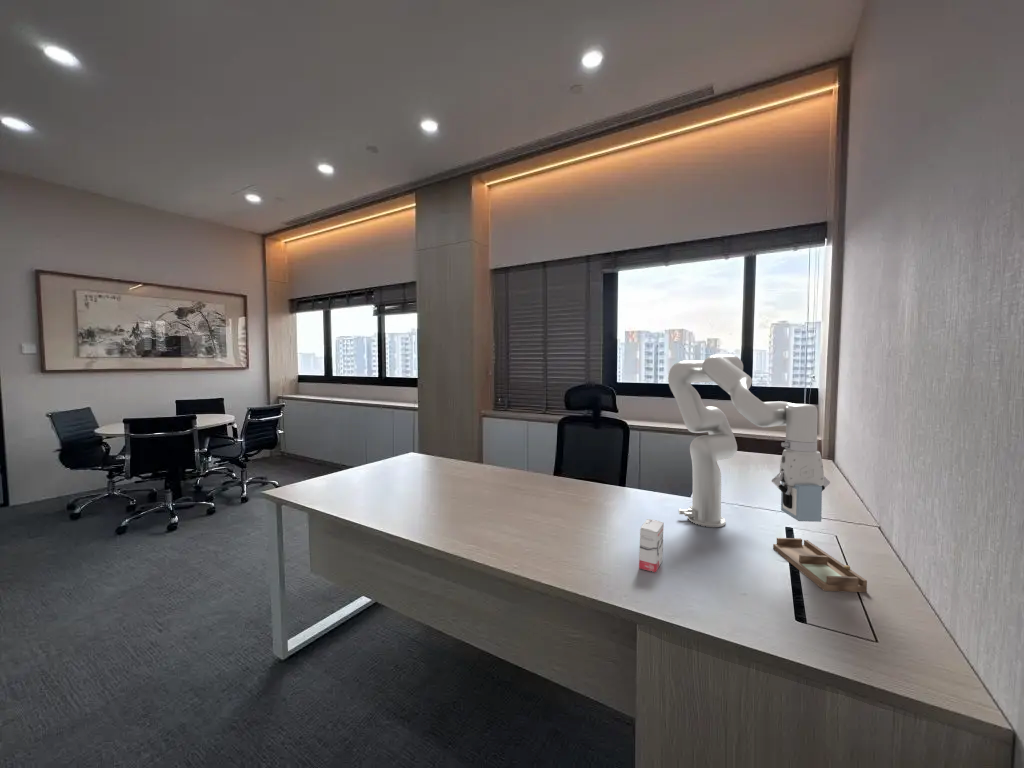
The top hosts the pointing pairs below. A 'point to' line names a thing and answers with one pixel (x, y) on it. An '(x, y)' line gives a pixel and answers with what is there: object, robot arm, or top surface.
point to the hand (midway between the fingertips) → (800, 506)
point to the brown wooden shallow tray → (820, 566)
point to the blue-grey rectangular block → (805, 503)
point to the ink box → (651, 545)
